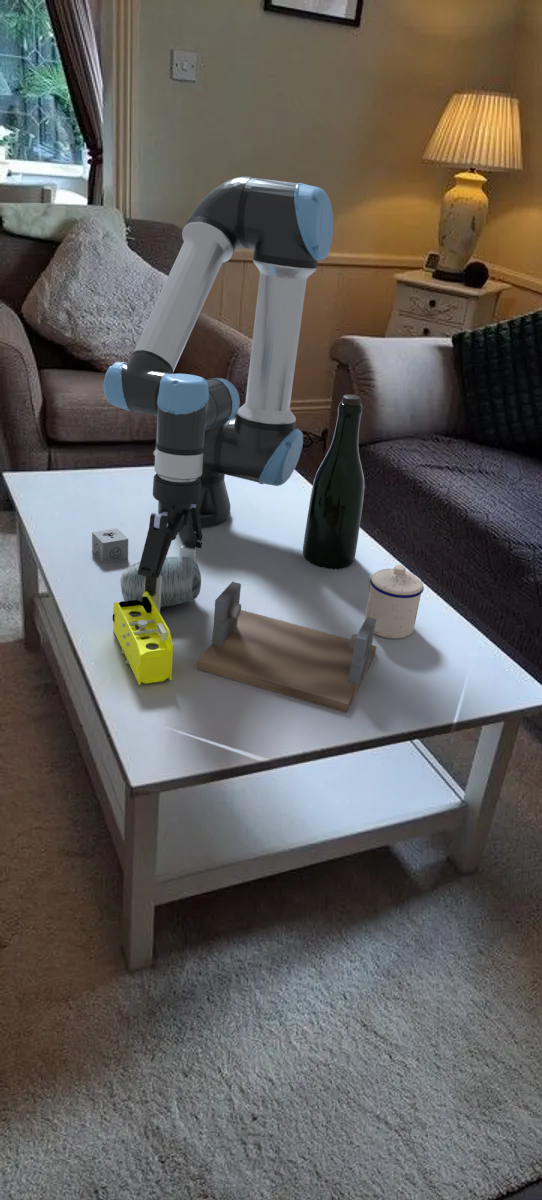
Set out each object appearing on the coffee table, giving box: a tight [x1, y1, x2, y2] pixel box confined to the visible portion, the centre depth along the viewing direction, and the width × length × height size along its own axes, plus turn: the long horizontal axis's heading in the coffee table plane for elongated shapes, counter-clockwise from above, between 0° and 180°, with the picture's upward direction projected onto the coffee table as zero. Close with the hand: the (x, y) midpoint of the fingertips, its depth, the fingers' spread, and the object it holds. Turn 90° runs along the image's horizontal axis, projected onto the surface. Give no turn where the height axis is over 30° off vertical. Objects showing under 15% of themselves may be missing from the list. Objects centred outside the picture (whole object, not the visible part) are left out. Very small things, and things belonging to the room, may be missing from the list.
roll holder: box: [196, 581, 377, 713], centre depth 135 cm, size 18×24×10 cm
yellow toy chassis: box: [112, 591, 174, 686], centre depth 132 cm, size 16×6×8 cm, turn 23°
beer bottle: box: [302, 394, 365, 570], centre depth 163 cm, size 10×10×33 cm
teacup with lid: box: [364, 564, 425, 640], centre depth 148 cm, size 12×9×12 cm
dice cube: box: [91, 527, 129, 564], centre depth 160 cm, size 5×5×5 cm
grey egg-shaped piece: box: [120, 556, 202, 609], centre depth 145 cm, size 14×10×10 cm
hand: (169, 596), depth 145 cm, fingers open, 13 cm apart
